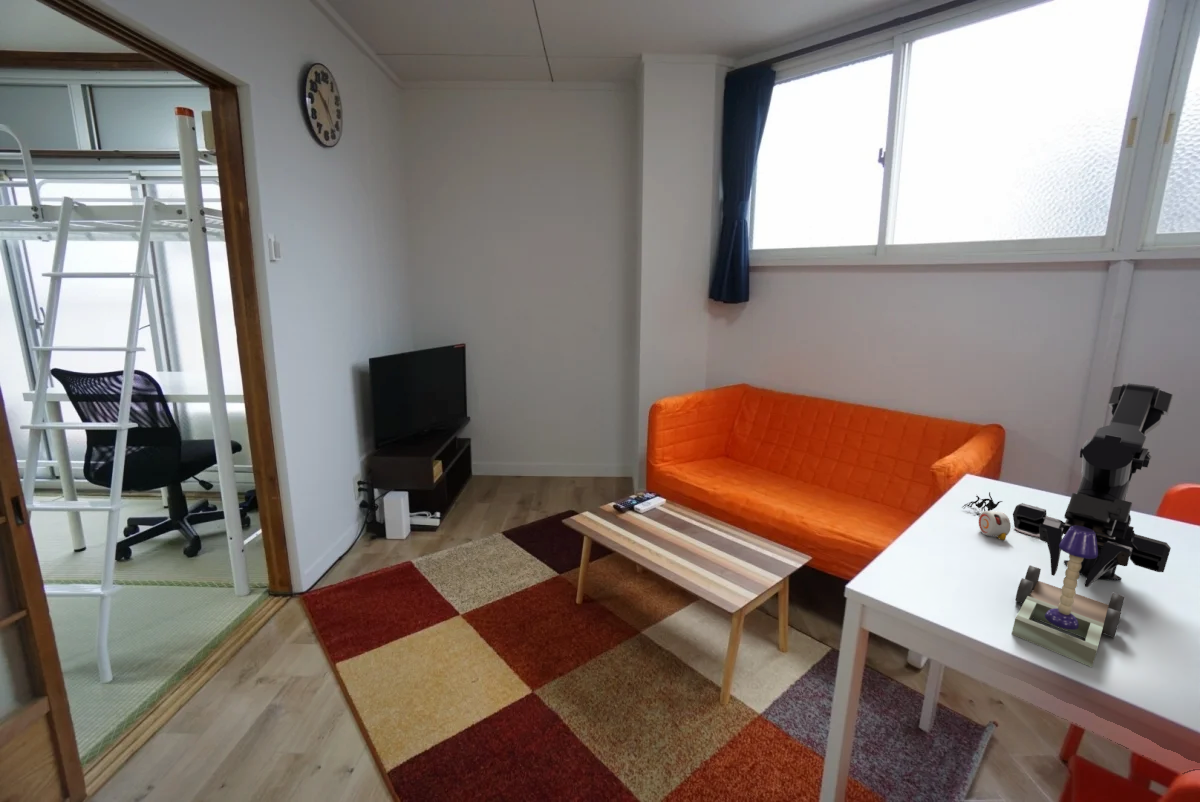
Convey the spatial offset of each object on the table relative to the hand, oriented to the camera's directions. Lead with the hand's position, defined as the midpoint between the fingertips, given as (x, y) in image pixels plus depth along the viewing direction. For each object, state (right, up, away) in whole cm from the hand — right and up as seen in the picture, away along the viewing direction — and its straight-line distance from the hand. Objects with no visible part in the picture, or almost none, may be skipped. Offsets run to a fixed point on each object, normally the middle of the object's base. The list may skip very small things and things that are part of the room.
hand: (1069, 580), depth 83 cm
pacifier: (+28, -3, +41) cm, 50 cm away
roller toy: (+17, -3, +39) cm, 42 cm away
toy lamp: (+1, -8, +3) cm, 8 cm away
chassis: (+5, -10, +7) cm, 13 cm away
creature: (+23, 0, +52) cm, 56 cm away
